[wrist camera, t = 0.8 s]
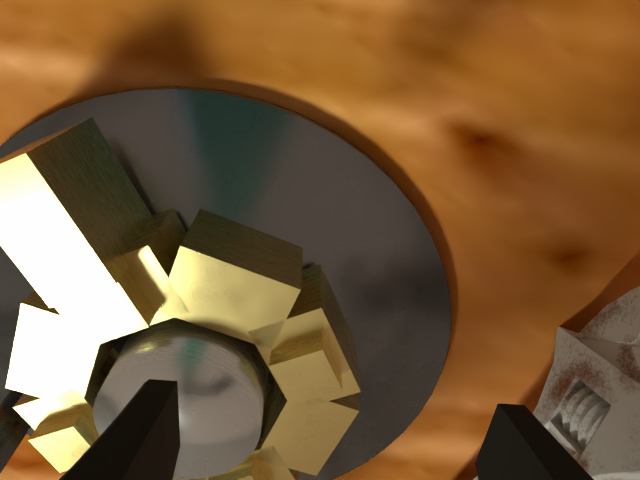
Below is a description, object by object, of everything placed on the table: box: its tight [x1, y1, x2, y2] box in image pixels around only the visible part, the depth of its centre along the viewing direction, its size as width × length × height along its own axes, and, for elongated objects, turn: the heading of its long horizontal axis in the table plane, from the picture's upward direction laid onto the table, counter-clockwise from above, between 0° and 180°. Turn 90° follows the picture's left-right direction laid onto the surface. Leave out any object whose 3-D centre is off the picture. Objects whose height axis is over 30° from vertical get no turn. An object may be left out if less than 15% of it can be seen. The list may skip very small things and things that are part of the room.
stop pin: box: [0, 390, 31, 473], centre depth 20 cm, size 2×2×5 cm
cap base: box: [0, 87, 451, 480], centre depth 19 cm, size 22×22×5 cm
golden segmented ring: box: [0, 117, 361, 480], centre depth 18 cm, size 13×17×4 cm
